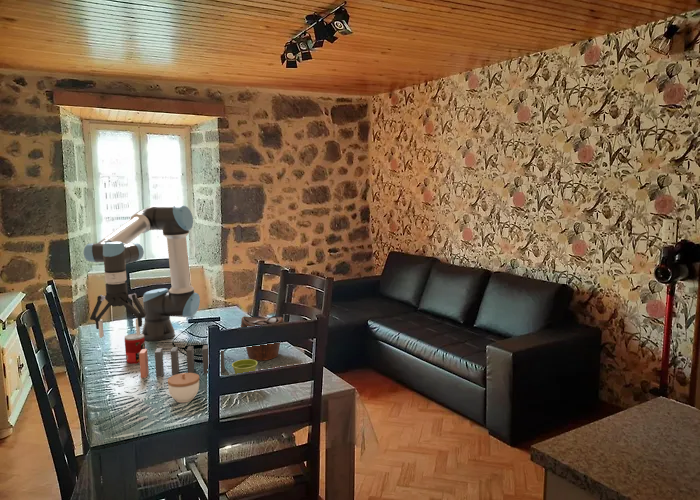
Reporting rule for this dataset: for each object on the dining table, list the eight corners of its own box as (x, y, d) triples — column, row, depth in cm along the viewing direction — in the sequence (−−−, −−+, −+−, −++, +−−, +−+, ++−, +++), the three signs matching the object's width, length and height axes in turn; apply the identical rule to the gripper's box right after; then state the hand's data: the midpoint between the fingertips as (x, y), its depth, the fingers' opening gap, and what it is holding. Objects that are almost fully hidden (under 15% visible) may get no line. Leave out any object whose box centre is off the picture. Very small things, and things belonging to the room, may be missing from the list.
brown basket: (295, 354, 232) (293, 314, 230) (258, 366, 218) (256, 324, 215) (269, 346, 244) (267, 308, 242) (233, 357, 230) (230, 317, 227)
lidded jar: (170, 407, 181) (168, 381, 179) (167, 395, 190) (165, 370, 189) (202, 402, 185) (201, 376, 183) (198, 390, 194) (196, 366, 193)
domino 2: (158, 372, 213) (157, 348, 212) (163, 371, 213) (162, 347, 212) (156, 376, 208) (154, 352, 207) (161, 376, 209) (159, 352, 207)
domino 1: (143, 373, 212) (141, 349, 211) (148, 372, 212) (147, 348, 211) (140, 377, 207) (139, 353, 206) (146, 377, 208) (144, 353, 206)
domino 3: (174, 371, 214) (172, 347, 213) (179, 370, 214) (177, 346, 213) (172, 375, 209) (170, 351, 208) (177, 375, 209) (175, 351, 208)
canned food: (139, 364, 222) (137, 339, 220) (122, 363, 223) (120, 338, 222) (149, 358, 229) (148, 333, 228) (133, 357, 231) (131, 332, 229)
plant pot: (236, 392, 192) (235, 369, 191) (230, 383, 201) (229, 361, 199) (261, 387, 197) (260, 365, 195) (254, 379, 205) (253, 357, 204)
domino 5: (204, 369, 216) (203, 345, 215) (209, 368, 216) (208, 345, 215) (203, 373, 211) (202, 349, 210) (208, 373, 211) (207, 349, 210)
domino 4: (189, 370, 215) (188, 346, 214) (194, 369, 215) (193, 346, 214) (187, 374, 210) (186, 350, 209) (193, 374, 210) (191, 350, 209)
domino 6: (219, 367, 217) (218, 344, 215) (224, 367, 217) (223, 344, 216) (218, 372, 212) (217, 348, 211) (223, 372, 212) (222, 348, 211)
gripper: (78, 285, 197) (82, 340, 200) (148, 282, 201) (151, 336, 204) (84, 281, 205) (89, 334, 208) (152, 278, 209) (155, 331, 212)
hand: (120, 335), depth 206 cm, fingers open, 13 cm apart
